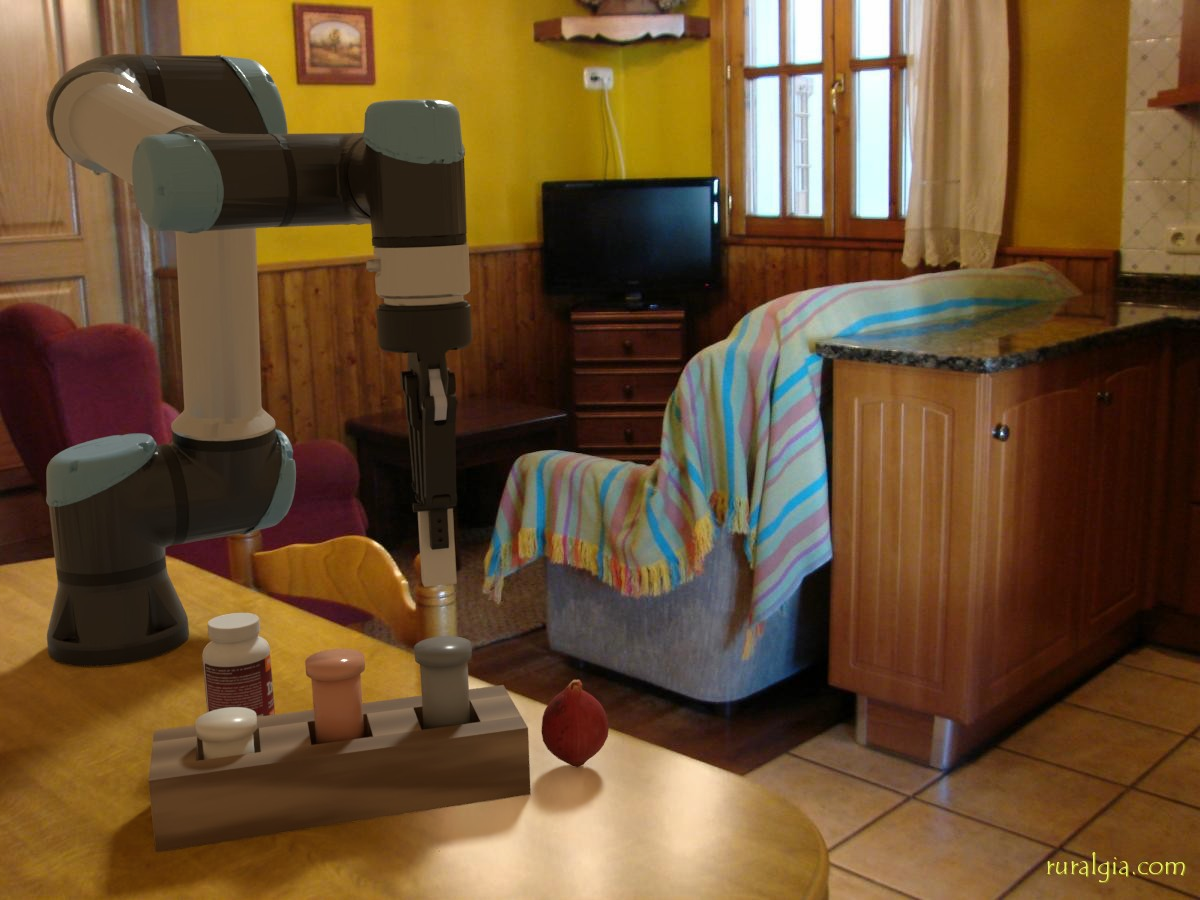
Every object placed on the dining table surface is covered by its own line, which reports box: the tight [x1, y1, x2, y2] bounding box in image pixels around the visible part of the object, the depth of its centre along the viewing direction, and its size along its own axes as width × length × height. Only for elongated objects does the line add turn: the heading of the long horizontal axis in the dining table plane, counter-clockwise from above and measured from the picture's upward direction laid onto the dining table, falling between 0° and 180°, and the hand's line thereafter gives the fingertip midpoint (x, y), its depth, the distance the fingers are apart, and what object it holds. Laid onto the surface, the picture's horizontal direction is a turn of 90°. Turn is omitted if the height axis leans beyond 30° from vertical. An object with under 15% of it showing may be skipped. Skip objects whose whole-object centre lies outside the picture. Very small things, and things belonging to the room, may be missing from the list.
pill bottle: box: [201, 612, 276, 717], centre depth 124 cm, size 6×6×11 cm
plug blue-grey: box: [413, 635, 473, 730], centre depth 112 cm, size 5×5×8 cm
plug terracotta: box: [304, 648, 366, 744], centre depth 110 cm, size 5×5×8 cm
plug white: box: [195, 707, 257, 760], centre depth 108 cm, size 5×5×8 cm
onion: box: [541, 679, 610, 768], centre depth 115 cm, size 6×6×8 cm
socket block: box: [147, 684, 532, 853], centre depth 111 cm, size 10×30×6 cm, turn 106°
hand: (439, 582), depth 110 cm, fingers closed
